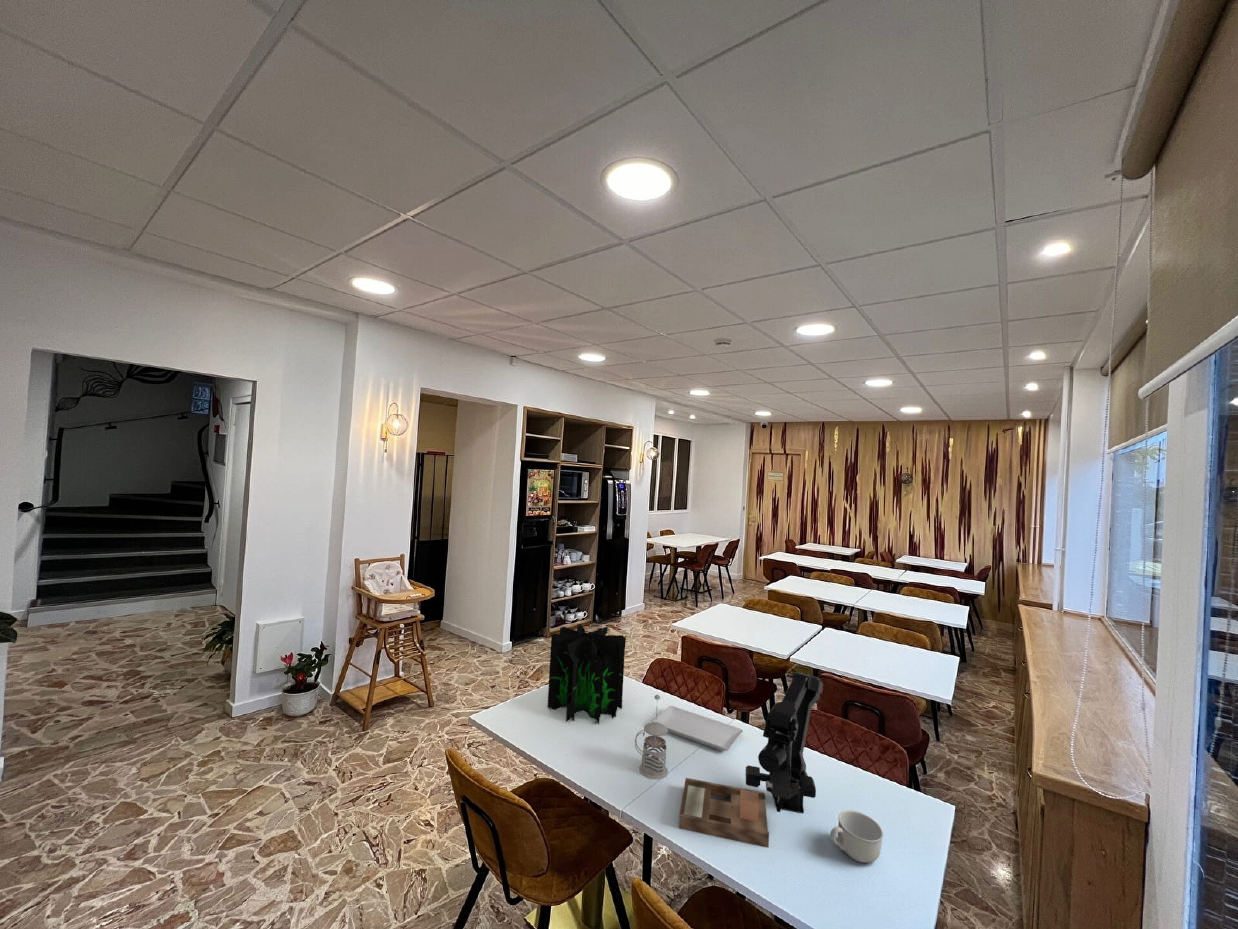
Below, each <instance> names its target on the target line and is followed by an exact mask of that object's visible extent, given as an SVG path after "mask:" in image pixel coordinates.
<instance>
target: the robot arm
mask: <svg viewBox="0 0 1238 929" xmlns="http://www.w3.org/2000/svg"><path fill="white" fill-rule="evenodd" d="M823 688H824V683H823V682H822V681H821V679H820V677H817V676H813V675H810V674H806V673H803V672H798V671H796V672H793V674H792V677H791V682H790V684H789V685H788V687H787V690H786V692H785V694H784V696H783V698H782V700H781V701H780V702H777V703H775V704H774V705H773V707H772V708H771V709H770V711H769V712H768V713H767V717H766V720H765V724H764V725H765V726H764V730H763V733H762V737H763V738H766V739H767V743H766V745H765V746H764V747H763V748H762V749H761V751H760V752H758V753H759V754H758V757H757V758H758V759H757V760H758V762H759V765H760V766H759V767H758V766H754V765H750V764H749V765H746V767H745V771H744V772H745V774H744V775H745V785H746V786H749V787H753V788H758V787H759V786H761V782H765V789H766V791H767V793H768V792H769V793H770V794H771V796H772V798H773V802H774V805H775V810H776V812H777V813H780V812H781V810H787V811H791V812H797V813H802V814H803V813H805V809H804V797H805V798H806V797H807V798H812V799H814V798H816V796H817V795H816V792H817V788H816V784H815V779H814V778H813V777H812V776H810V775H808V773H807V765H806V761H805V758H804V749H805V744H806V739H807V734H808V728H809V724H810V723H809V722H810V718H811V717H810V716H811V713H812V707H813V706H814V705H815V704H816V703H817V702H818V701H819V699H820V695H821V694H822V692H823ZM770 729H771V730H770ZM774 731H775V732H774ZM760 767H761V768H762V769H763V770H764V771H766V772H768V773H763V772H761V771H760V770H761V769H760Z"/></svg>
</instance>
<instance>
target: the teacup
mask: <svg viewBox="0 0 1238 929" xmlns="http://www.w3.org/2000/svg"><path fill="white" fill-rule="evenodd" d="M883 831H884V830H882V827H881V825H880V824H879V823H877V822H876V820H874V819H873V818H872V817H870V816H869V815H867V814H864V813H862V812H860V811H856V810H850V809H849V810H843V811H841V812H840V813H839V814H838V826H834V827H833V828H832V829H831V830H830V839H831V841H832V842H833V843H834V844H835V845H836V846H838V847H839V848H840V850H842V851H844V852H845V853H846V854H847V855H848V856H849V857H850V858H851V859H853V860H854V861H856V862H859V863H862V864H863V863H865V864H869V863H872V862H875V861H877V860H878V859H879V857H880V856H881V853H882V852H881V850H882V845H883V837H884V832H883ZM836 836H837V839H838V840H837V839H836Z"/></svg>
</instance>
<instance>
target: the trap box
mask: <svg viewBox="0 0 1238 929" xmlns="http://www.w3.org/2000/svg"><path fill="white" fill-rule="evenodd" d="M684 781H685V782H684V787H683V792H682V798H681V805H680V809H679V810H680V811H679V822H678V829H681V830H685V831H690V832H695V833H698V832H699V833H700V834H703V835H708V836H713V837H718V838H722V839H725V840H726V839H728V840H731V841H735V842H740V843H746V844H750V845H755V846H759V847H763V848H769V846H770V845H769V843H770V842H769V841H770V831H769V828H768V819H767V818H768V817H767V808H766V806H767V805H766V792H762V791H757V790H752V789H748V788H747V789H746V788H741V787H735V786H731V785H727V784H726V785H725V784H721V783H716V782H710V781H705V780H699V779H695V778H694V779H693V778H691V777H690V778H689V777H685V780H684ZM740 789H741V790H746V791H751V792H756V793H758V798H759V812H758V822H757V821H752V820H747V819H742V818H740Z"/></svg>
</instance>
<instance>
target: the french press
mask: <svg viewBox="0 0 1238 929" xmlns="http://www.w3.org/2000/svg"><path fill="white" fill-rule="evenodd" d="M660 699H661V696H660V695H659V694H655V695H654V700H656V701H659V700H660ZM655 708H656V709H655V710H656V712H655V718H656V720H657V716H658V714H657V713H658V707H655ZM668 732H669V731H668V728H667V727H666V726H664V725H663V724H661V723H659V722H652V721H651V722H649V723H646V724H645V725H644V726H643V729H641V730H639V731H638V732H637V734H636V736H635V739H634V748H635V751H636V752H638V754H639V755H641V765H640V766H639V767H638V771H639V773H640V774H641V775H642V776H643V777H644V778H646V779H648V780H654V781H655V780H656V781H657V780H663V779H664V778H666V777H668V775H669V769H668V768H667V767H666V762H667V745H666V744H667V741H666V740H665V738H664V737H663V736H665V735H667V734H668ZM645 733H646V734H648V736H646V737H645V735H646V734H645ZM641 734H642V735H643V736H642V737H645V738H644V742H643V748H642V750H641V749H640V748H639V746H638V743H637V738H638V736H640V735H641ZM641 752H642V753H641Z"/></svg>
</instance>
